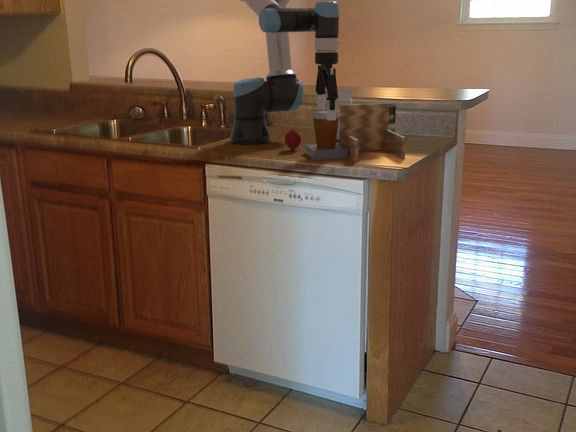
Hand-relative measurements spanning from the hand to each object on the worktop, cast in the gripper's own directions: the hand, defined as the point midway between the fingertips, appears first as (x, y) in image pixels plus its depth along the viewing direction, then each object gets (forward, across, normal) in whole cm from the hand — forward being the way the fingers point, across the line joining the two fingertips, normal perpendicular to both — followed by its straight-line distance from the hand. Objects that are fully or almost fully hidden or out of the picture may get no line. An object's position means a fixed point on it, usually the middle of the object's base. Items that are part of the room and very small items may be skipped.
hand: (326, 117), depth 220 cm
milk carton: (+14, +30, -14) cm, 36 cm away
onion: (+13, +12, +9) cm, 20 cm away
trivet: (+13, 0, 0) cm, 13 cm away
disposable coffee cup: (+10, 0, 0) cm, 10 cm away
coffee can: (+13, +16, -25) cm, 33 cm away
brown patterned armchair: (+13, -3, -15) cm, 20 cm away
